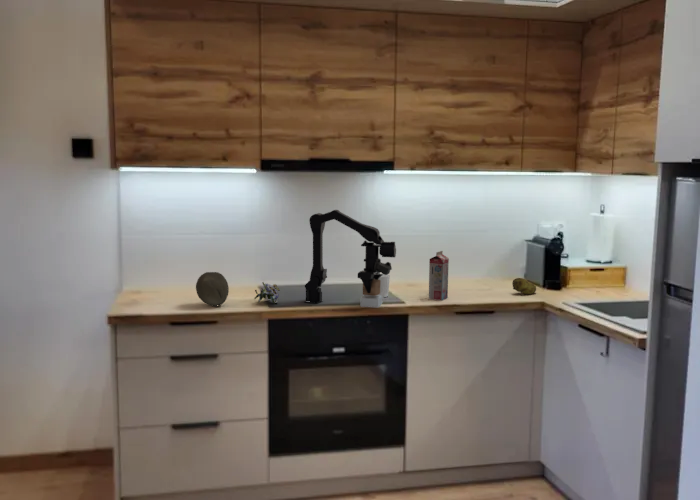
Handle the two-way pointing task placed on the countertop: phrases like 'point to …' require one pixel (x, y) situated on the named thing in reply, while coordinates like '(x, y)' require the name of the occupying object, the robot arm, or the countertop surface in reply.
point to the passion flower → (268, 292)
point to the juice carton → (438, 277)
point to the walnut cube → (373, 288)
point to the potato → (523, 286)
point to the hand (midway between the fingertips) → (371, 291)
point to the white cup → (384, 285)
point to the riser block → (371, 301)
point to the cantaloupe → (212, 288)
